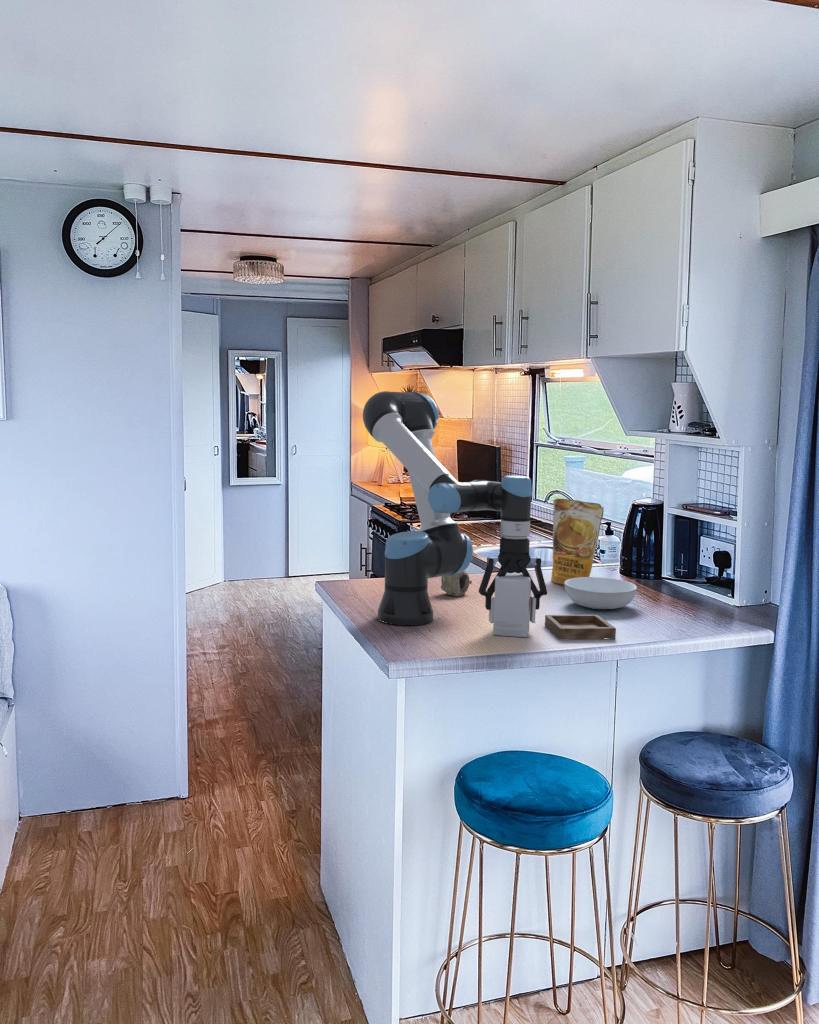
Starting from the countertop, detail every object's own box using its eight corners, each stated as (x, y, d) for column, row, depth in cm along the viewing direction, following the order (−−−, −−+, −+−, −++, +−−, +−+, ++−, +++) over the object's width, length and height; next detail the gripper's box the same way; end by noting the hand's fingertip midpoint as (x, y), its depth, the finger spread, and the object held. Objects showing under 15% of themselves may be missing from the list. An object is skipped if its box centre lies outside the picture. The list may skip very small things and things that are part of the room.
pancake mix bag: (556, 578, 295) (560, 497, 292) (601, 588, 280) (605, 503, 277) (543, 581, 291) (546, 498, 287) (587, 591, 276) (592, 504, 273)
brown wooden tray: (559, 639, 217) (560, 628, 217) (544, 625, 231) (545, 614, 231) (615, 639, 219) (615, 628, 218) (597, 624, 233) (597, 614, 233)
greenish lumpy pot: (443, 603, 265) (433, 574, 263) (447, 593, 273) (437, 564, 271) (473, 596, 263) (463, 566, 260) (475, 586, 271) (466, 557, 268)
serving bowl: (554, 609, 250) (555, 586, 250) (575, 596, 269) (576, 574, 268) (625, 618, 241) (627, 594, 240) (643, 604, 259) (644, 581, 258)
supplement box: (527, 638, 218) (530, 579, 216) (492, 635, 220) (494, 577, 218) (530, 629, 227) (532, 573, 225) (495, 626, 228) (497, 571, 227)
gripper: (473, 538, 215) (471, 625, 218) (562, 539, 218) (558, 625, 220) (468, 534, 223) (465, 618, 225) (554, 534, 225) (550, 618, 228)
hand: (511, 621), depth 223 cm, fingers closed on supplement box, 10 cm apart
